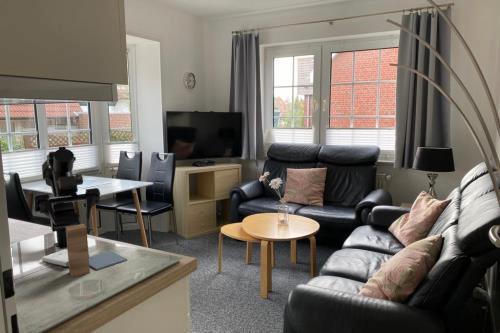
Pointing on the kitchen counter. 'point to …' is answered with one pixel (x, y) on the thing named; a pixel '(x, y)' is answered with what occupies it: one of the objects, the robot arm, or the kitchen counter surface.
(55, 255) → the external hard drive
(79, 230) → the walnut block
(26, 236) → the kitchen counter surface
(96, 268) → the rubber mat
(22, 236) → the kitchen counter surface
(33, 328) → the kitchen counter surface
